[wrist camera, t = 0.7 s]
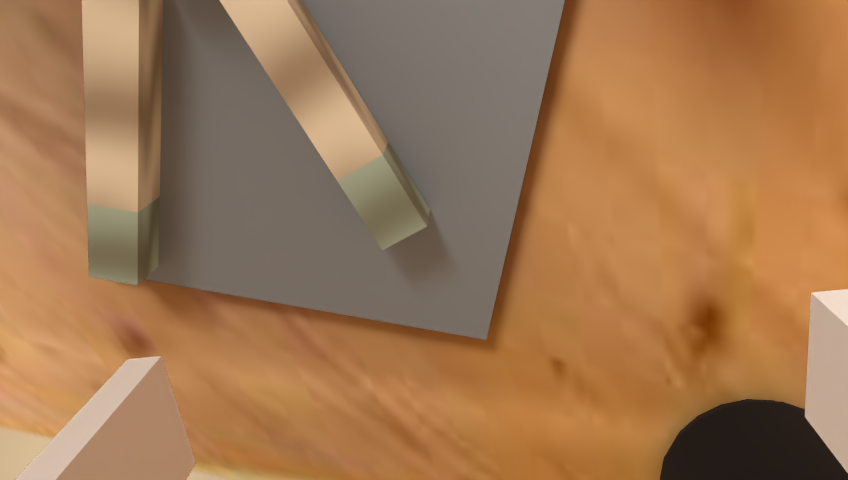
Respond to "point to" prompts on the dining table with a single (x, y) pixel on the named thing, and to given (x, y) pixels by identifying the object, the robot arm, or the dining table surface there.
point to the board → (314, 182)
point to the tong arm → (332, 115)
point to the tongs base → (122, 136)
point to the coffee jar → (751, 446)
